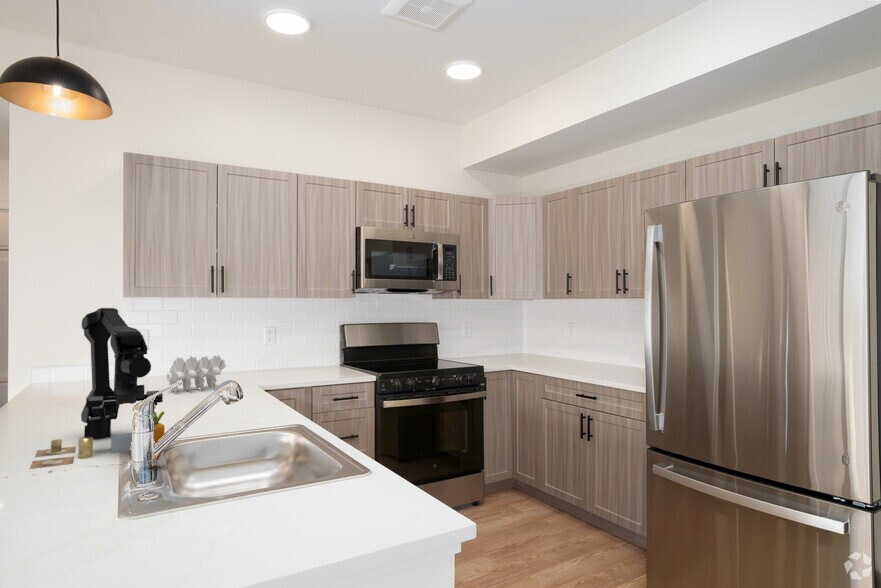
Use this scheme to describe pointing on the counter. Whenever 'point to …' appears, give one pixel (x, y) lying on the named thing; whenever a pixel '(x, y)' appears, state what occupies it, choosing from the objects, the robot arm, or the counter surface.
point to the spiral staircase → (195, 371)
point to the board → (43, 452)
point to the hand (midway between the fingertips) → (124, 428)
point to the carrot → (158, 429)
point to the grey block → (121, 442)
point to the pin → (85, 447)
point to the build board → (52, 462)
